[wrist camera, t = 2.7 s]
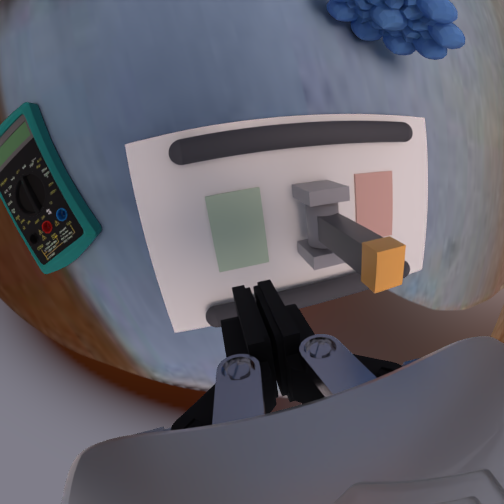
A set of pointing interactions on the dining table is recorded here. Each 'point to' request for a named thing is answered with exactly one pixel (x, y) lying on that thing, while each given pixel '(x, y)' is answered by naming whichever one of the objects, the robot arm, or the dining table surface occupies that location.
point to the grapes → (403, 24)
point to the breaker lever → (357, 246)
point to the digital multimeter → (42, 192)
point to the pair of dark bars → (283, 139)
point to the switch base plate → (270, 210)
